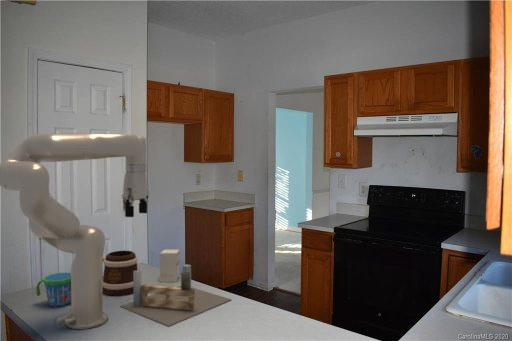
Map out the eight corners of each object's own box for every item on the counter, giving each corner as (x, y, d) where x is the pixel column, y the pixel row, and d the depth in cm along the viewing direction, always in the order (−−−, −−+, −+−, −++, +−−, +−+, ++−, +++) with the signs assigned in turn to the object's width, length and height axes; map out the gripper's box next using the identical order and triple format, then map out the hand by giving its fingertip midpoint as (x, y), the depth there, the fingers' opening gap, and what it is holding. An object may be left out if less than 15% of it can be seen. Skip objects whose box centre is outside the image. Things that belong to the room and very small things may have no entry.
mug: (148, 286, 167) (147, 250, 167) (123, 298, 153) (123, 259, 153) (109, 281, 174) (109, 246, 174) (83, 292, 160) (82, 254, 160)
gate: (140, 306, 143) (140, 271, 142) (144, 303, 146) (144, 268, 145) (192, 311, 139) (191, 275, 138) (195, 307, 141) (195, 272, 141)
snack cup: (30, 309, 142) (30, 280, 142) (45, 298, 153) (45, 272, 152) (75, 309, 143) (74, 280, 142) (86, 298, 153) (86, 272, 153)
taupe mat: (168, 326, 128) (168, 325, 128) (119, 306, 145) (119, 305, 145) (231, 300, 152) (231, 299, 152) (183, 285, 168) (183, 284, 168)
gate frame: (136, 308, 143) (136, 272, 142) (132, 307, 145) (131, 271, 144) (191, 289, 163) (191, 258, 163) (186, 288, 165) (186, 257, 165)
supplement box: (176, 282, 173) (176, 253, 172) (159, 282, 173) (159, 253, 173) (180, 277, 180) (180, 249, 180) (163, 276, 180) (163, 249, 180)
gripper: (138, 168, 159) (139, 211, 160) (113, 170, 142) (114, 218, 143) (156, 168, 157) (156, 212, 158) (132, 170, 140) (133, 219, 141)
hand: (136, 214), depth 150 cm, fingers open, 9 cm apart
